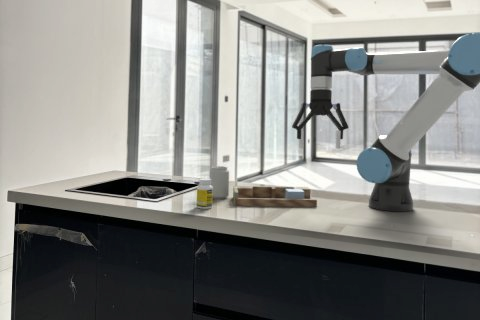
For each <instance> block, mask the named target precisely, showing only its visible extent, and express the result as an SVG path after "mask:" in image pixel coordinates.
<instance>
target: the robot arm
mask: <svg viewBox="0 0 480 320" xmlns="http://www.w3.org/2000/svg"><path fill="white" fill-rule="evenodd" d="M310 66H311V67H310V89H311V90H310V92H309V93H310V95H309V96H310V97H309V98H310V102H309V103H307V102H302V103H301V105H300V110H299V111H298V113H297V115H296V118H295V120H294V121H293V123H292V125H291V127H292V129H295V130H296V139H297V140H299V149H304V130H302V129H303V128H304V127H305V126H306V125H307V124H308V122H309V121H310V120H311V119H312V117H314V116H327V117H328V118H329V119H330V121H331V122H332V123H333V124H334V126H335V127H336V128H337V129H338V130H336V133H335V149H339V150H340V149H341V140H343V138H344V130H347V129H349V125H348V123H347V122H348V121H347V120H346V118H345V115H344V114H343V112H342V110H341V103H339V102H336V103H332V98H333V97H332V92H333V91H332V87H333V73H336V72H350V73H352V74H357V75H360V76H371V75H437V76H436V77H435V79H434V80H433V81H432V82H431V83H430V85H429V86H428V87H427V88H426V90H425V91H424V92H423V93H422V94H421V95H420V96H419V97H418V99H417V100H416V101H415V102H414V103H413V104H412V105H411V107H410V108H409V109H408V110H407V111H406V113H405V114H404V115H402V116H401V118H400V120H399V121H398V122H396V124H395V125H394V126H393V128H392V129H391V130H390V131H389V132H388V133H387V134H386V135H380V136H378V138H377V139H376V140H375V141H374V142H373V143H372V144H371V145H370V147H366V148H365V149H363V150H362V151H361V152H360V153H359V155H357V159H356V169H357V172H358V175H359V176H360V177H361V178H362V179H363V180H364V181H366V182H368V183H370V184H374V186H373V187H372V188H373V189H372V191H371V193H370V196H369V199H368V206H369V207H370V208H373V209H376V210H380V211H387V212H410V211H413V210H414V200H413V196H412V193H411V191H410V190H411V189H410V179H411V163H412V155H413V153H412V149H413V148H414V147H415V146H416V145H417V144H418V143H419V141H420V140H422V138H423V137H424V136H425V135H426V134H427V133H428V132H429V131H430V130H431V128H432V127H433V126H434V125H435V124H436V123H437V122H438V121H439V119H440V118H441V117H442V116H443V115H444V114H445V113H446V112H447V111H448V110H449V109H450V108H451V107H452V105H453V104H454V103H456V101H457V100H458V99H459V98H460V97H461V96H462V94H464V92H468V91H473V90H474V89H476V87H477V86H478V85H479V84H480V32H471V33H467V34H464V35H462V36H460V37H458V38H457V39H456V40H455V41H454V42H453V43H452V44H451V46H450V48H449V49H448V50H428V51H427V50H426V51H425V50H424V51H422V50H421V51H397V52H393V51H392V52H374V53H373V52H372V53H371V52H369V53H368V52H367V51H366V50H365V47H364V48H363V47H355V46H353V47H350V48H349V47H348V48H341V49H334V47H333V46H332V44H331V45H330V44H317V45H314V46H313V47H312V48H311V57H310ZM308 108H309V109H310V111H309V113H308V114H307V115H306V116H305V117H304V118H303V120H302V121H301V119H302V117H303V115H304V114H305V111H306V110H307V109H308ZM332 109H333V110H334V111H335V113H336V115H337V117H338V119H339V120H338V119H337V118H336V117H335V115H334V114H333V112H332V111H331V110H332Z"/></svg>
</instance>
